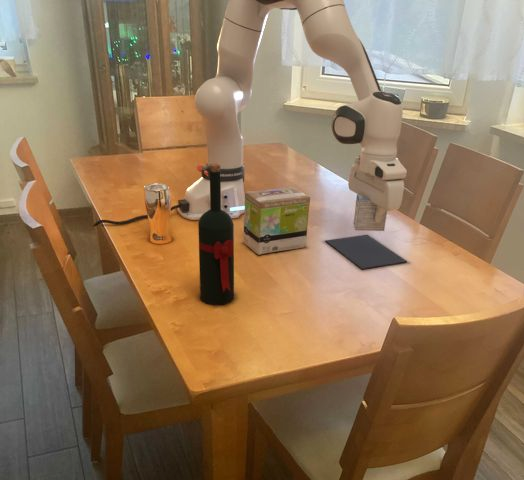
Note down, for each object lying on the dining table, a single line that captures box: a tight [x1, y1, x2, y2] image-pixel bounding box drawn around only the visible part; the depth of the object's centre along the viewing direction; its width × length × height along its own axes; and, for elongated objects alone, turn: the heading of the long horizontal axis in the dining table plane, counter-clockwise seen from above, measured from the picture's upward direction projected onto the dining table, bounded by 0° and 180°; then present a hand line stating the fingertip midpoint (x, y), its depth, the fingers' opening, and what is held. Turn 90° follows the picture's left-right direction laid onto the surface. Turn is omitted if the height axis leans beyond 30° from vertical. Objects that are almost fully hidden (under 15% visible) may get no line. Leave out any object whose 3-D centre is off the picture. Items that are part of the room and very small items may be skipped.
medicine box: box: [353, 194, 388, 232], centre depth 145 cm, size 8×4×9 cm, turn 89°
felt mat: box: [325, 234, 408, 271], centre depth 151 cm, size 14×20×1 cm
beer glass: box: [143, 182, 173, 245], centre depth 149 cm, size 7×7×15 cm
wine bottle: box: [197, 164, 235, 306], centre depth 117 cm, size 8×10×30 cm
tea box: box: [242, 186, 311, 256], centre depth 148 cm, size 15×10×15 cm
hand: (369, 216), depth 145 cm, fingers closed on medicine box, 5 cm apart
